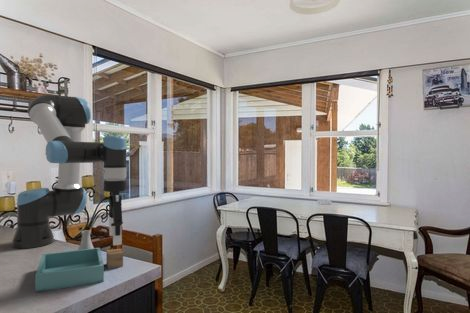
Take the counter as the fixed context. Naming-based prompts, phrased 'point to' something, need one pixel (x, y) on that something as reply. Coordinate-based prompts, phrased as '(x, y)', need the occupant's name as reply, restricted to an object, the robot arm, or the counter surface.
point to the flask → (85, 240)
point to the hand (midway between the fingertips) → (115, 239)
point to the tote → (69, 269)
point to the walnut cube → (114, 258)
